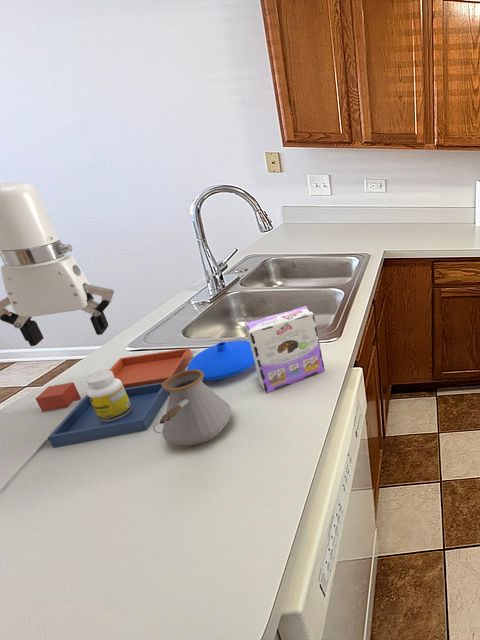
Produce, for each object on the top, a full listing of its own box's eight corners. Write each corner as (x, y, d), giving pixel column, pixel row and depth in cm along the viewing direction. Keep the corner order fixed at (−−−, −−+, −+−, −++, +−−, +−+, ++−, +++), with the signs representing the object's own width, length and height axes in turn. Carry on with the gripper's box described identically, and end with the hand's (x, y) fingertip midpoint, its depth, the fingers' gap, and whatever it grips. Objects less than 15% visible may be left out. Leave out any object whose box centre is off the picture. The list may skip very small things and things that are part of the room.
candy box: (317, 361, 103) (306, 304, 97) (325, 371, 99) (314, 313, 93) (259, 382, 95) (243, 321, 89) (265, 394, 91) (249, 331, 84)
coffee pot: (173, 421, 83) (150, 361, 77) (236, 406, 87) (219, 347, 81) (145, 506, 65) (112, 435, 59) (226, 480, 69) (203, 412, 64)
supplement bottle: (92, 420, 82) (74, 381, 78) (120, 403, 87) (103, 366, 83) (112, 425, 81) (94, 385, 77) (139, 407, 86) (123, 369, 82)
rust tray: (95, 399, 89) (91, 389, 88) (123, 366, 101) (120, 358, 100) (174, 385, 94) (170, 376, 93) (192, 356, 105) (189, 347, 104)
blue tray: (53, 447, 76) (47, 437, 75) (91, 404, 88) (86, 394, 87) (147, 429, 80) (142, 419, 79) (171, 390, 92) (168, 381, 91)
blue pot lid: (266, 346, 110) (260, 324, 107) (259, 378, 96) (253, 354, 93) (199, 358, 104) (192, 335, 102) (182, 394, 91) (173, 368, 88)
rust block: (43, 415, 84) (35, 398, 83) (56, 402, 88) (48, 386, 87) (69, 411, 86) (61, 394, 84) (81, 398, 90) (73, 382, 88)
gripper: (103, 242, 77) (132, 320, 84) (-22, 254, 71) (20, 337, 77) (87, 253, 71) (120, 336, 78) (-51, 268, 64) (-2, 357, 71)
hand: (70, 337), depth 77 cm, fingers open, 9 cm apart
